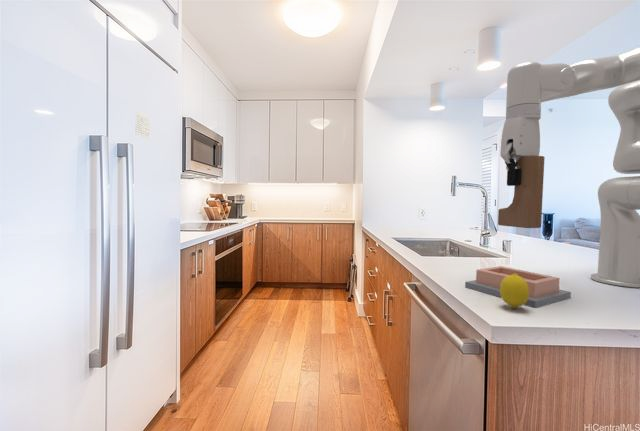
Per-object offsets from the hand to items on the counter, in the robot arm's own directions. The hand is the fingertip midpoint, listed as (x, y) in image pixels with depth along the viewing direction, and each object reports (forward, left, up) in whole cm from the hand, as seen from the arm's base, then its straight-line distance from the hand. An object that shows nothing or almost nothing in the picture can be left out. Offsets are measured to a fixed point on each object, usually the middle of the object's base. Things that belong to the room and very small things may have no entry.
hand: (519, 185), depth 79 cm
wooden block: (0, 0, -11) cm, 11 cm away
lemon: (+13, +7, -29) cm, 32 cm away
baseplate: (0, 0, -28) cm, 28 cm away
